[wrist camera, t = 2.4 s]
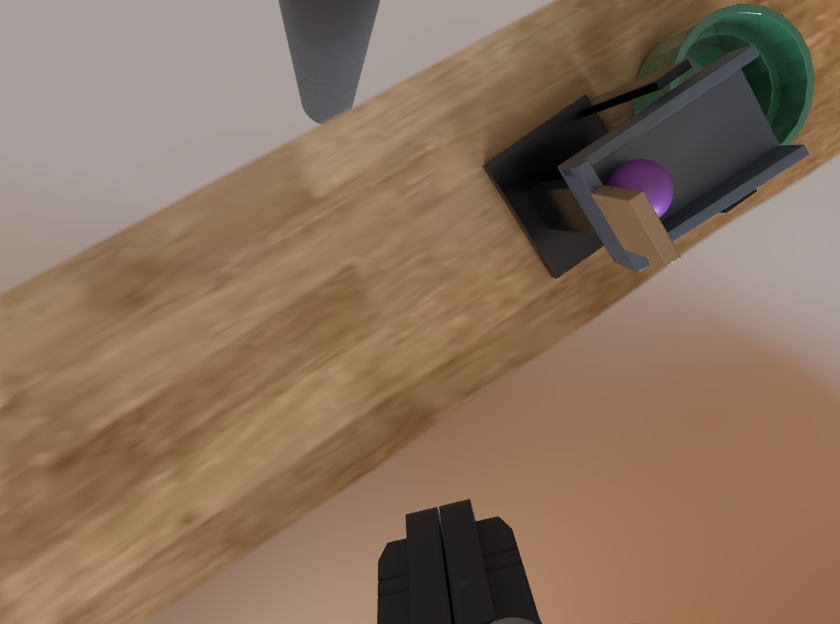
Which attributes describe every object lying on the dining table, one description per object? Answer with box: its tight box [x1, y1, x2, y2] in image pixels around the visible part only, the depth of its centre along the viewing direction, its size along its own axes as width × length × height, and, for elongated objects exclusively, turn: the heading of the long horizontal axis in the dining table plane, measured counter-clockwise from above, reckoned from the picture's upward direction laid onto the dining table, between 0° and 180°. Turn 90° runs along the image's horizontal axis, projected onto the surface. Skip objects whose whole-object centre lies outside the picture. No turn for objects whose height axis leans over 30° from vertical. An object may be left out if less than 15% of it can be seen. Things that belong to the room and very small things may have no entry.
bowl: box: [633, 4, 815, 146], centre depth 40 cm, size 9×9×5 cm
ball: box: [606, 159, 673, 217], centre depth 31 cm, size 3×3×3 cm
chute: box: [558, 44, 809, 273], centre depth 28 cm, size 10×6×8 cm, turn 124°
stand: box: [483, 59, 757, 279], centre depth 37 cm, size 9×9×10 cm
